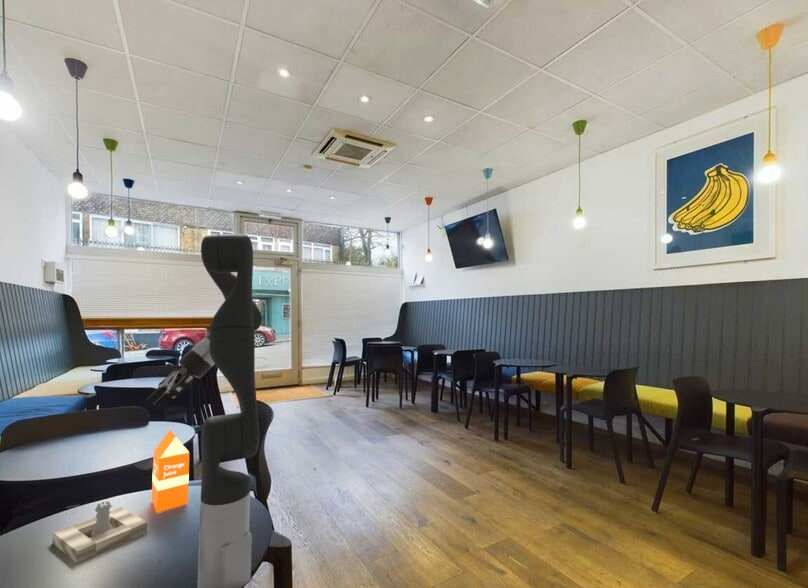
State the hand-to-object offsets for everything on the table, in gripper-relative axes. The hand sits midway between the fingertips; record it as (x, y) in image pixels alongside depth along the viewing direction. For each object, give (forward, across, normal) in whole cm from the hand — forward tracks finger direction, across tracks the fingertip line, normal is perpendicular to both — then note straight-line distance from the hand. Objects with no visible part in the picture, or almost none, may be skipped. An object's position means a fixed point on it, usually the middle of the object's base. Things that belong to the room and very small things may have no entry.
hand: (152, 404), depth 100 cm
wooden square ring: (+28, -1, +15) cm, 32 cm away
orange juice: (+17, -10, +27) cm, 33 cm away
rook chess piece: (+28, -1, +15) cm, 32 cm away
